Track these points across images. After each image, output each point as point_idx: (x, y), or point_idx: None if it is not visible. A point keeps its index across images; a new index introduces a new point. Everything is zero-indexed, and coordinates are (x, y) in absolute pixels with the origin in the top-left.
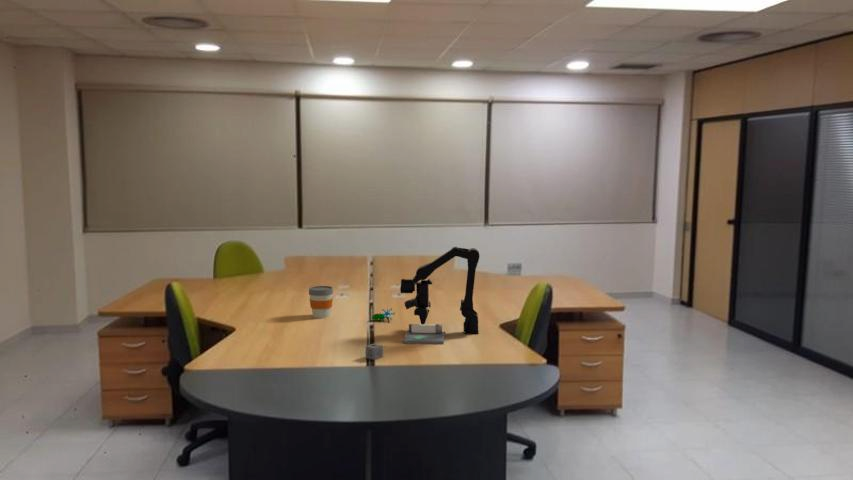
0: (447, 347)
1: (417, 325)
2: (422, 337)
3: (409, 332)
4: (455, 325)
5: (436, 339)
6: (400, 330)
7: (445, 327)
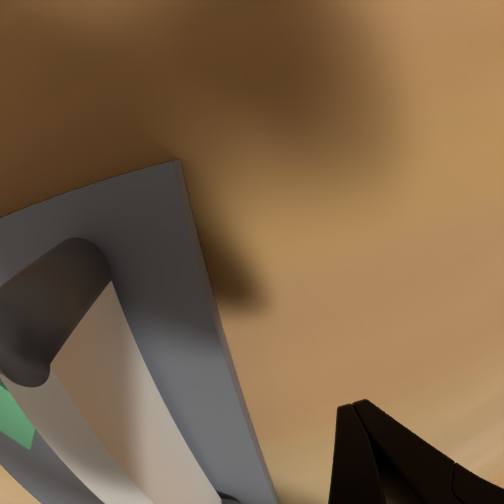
0: (23, 498)
1: (62, 456)
2: (3, 424)
3: (95, 236)
4: (495, 444)
5: (48, 491)
6: (340, 2)
7: (470, 431)
